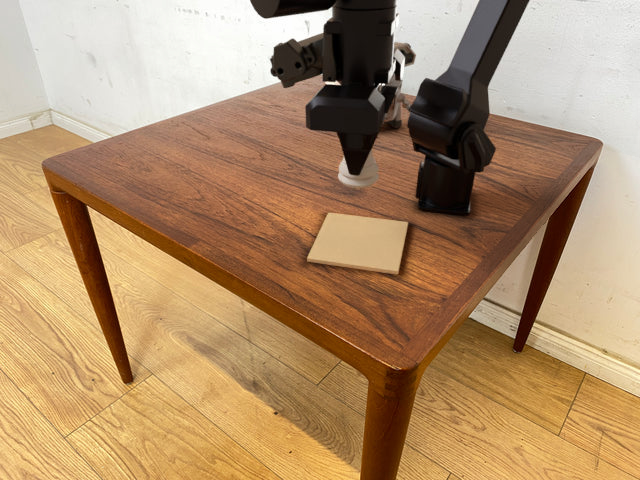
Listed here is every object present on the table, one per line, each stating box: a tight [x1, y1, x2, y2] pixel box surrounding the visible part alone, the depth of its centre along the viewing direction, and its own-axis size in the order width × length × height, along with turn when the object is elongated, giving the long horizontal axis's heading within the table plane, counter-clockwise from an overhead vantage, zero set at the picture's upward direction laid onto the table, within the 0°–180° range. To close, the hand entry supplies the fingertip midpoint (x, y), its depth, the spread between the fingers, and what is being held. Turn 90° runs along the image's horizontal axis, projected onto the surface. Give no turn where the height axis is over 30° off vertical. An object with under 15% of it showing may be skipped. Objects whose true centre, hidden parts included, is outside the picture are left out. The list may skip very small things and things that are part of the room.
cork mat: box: [306, 212, 409, 275], centre depth 56 cm, size 10×10×1 cm
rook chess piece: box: [337, 148, 380, 189], centre depth 51 cm, size 4×4×8 cm
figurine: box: [384, 41, 417, 129], centre depth 80 cm, size 9×12×15 cm
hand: (358, 165), depth 52 cm, fingers closed on rook chess piece, 4 cm apart
